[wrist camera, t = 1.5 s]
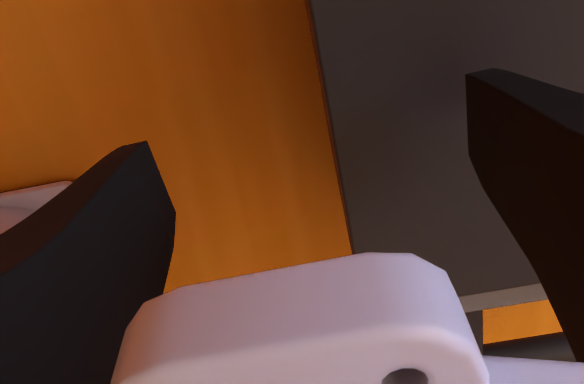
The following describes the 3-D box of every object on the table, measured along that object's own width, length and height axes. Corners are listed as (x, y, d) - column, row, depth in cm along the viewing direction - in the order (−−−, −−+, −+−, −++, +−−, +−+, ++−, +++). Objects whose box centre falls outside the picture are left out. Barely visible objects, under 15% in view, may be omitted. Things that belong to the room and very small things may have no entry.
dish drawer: (642, 257, 26) (741, 371, 21) (372, 303, 27) (398, 422, 22) (738, -238, 16) (984, -272, 11) (300, -137, 17) (316, -120, 12)
